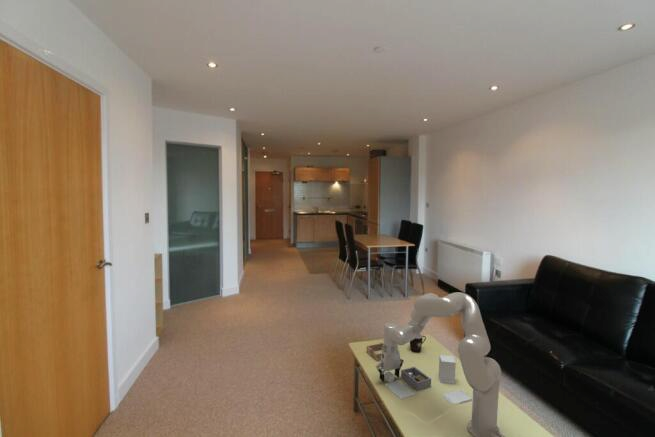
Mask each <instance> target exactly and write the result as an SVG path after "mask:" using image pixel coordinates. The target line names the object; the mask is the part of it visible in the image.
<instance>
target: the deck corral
mask: <svg viewBox="0 0 655 437" xmlns="http://www.w3.org/2000/svg"><path fill="white" fill-rule="evenodd" d="M382 347H383V342H379V343H376V344H375V343H374V344H371V345H367V346H366V354H368V355H369V356H370V357H371V358H373V360H375V361H376V362H381V354H382V352H381V353H377V352H378V351H381V350H382Z"/></svg>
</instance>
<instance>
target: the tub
mask: <svg viewBox="0 0 655 437" xmlns="http://www.w3.org/2000/svg"><path fill="white" fill-rule="evenodd" d="M408 371H411V372H413V378H412V377H411V376H410V375H408V374H407V372H408ZM418 375H420V376H422V377H424V378H425V379H426V380H422V381H419V382H417V381H416V380H415V379H414V377H416V376H418ZM400 378H401V379H402V380H403V381H404V382H406V383H407V384H408V385H409V386H410V387H411V388H413V389H415V391H417V392H420V391H422V390H425V389H428V388H431V387H432V379H431V377H429V376H428V375H426V374H425V373H424V372H422V371H421V370H420V369H418V368H417V367H416V366H411V367H408V368H404V369H400Z"/></svg>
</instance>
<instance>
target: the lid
mask: <svg viewBox="0 0 655 437" xmlns="http://www.w3.org/2000/svg"><path fill="white" fill-rule="evenodd" d="M384 381H386V382H387V383H385V384H384V386H386V387H387V388H388V389H389V390H390V391H391V392H392V393H393V394H394V395H395V396H397V397H398V398H399V399H400V400H403V399H406V398H409V397H412V396H414V395H415V396H416V393H415V392H413V390H411V389H410V388H409V387H407V386H406V385H405V384H404V383H403V382H401V381H400V380H399V379H398V380H397V379H396V380H395V374H393V373H392V371H391V370H390V371H385V372H384Z"/></svg>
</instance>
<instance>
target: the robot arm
mask: <svg viewBox="0 0 655 437" xmlns="http://www.w3.org/2000/svg"><path fill="white" fill-rule="evenodd" d="M413 307H414V308H413V309H412V310H411V312H410V317H411V320H410V321H409V322H408V323H407V324H406V325H405V326H403V327H401V328H399V326H398V325H397V323H393V322H386V323H385V324H384V325H383V342H382V343H383V347H382V351H381V353H382V354H381V353H380V354H381V361H379V363H378V364H376V366H375V369H376V370H377V372H378V373H379V380H381V381H382V382H383V383H384V382H385V372H389V371H390V372H391V371H393V370H394V376H395V377H397V378H400V372H401V370H402V369H401V368H402V366H403V364H404V359H402V358H401V354H400V349H399V348H398V347H399V346H404V345H406V344H408V343H410V341H411V340H413V339H415V338H416V337H417V336H418V335H419V334H421V333H422V332H423V330H424V329H425V327H426V324H427V323H428V322H429V321H430V320H431V318H451V317H453V316H456V315H457V314H459V313H460V316H461V318H460V319H461V326H462V330H463V333H464V337H463V338H462V339H461V340H460V341H459V343H458V346H457V353H458V356H459V360H460V364H461V368H462V372H463V375H464V377H465V380H466V382H467V384H468V386H469V387H470V388H471V389H472V401H471V402H472V403H471V405H472V407H471V420H468V422H467V423H466V424H467V426H466V427H467V431H468V432H469V433H470V435H471V436H472V437H505V436H504V435H503V434H502V433H501V432H500V427H499V426H498V411H499V410H498V409H499V397H500V396H499V394H500V393H499V392H500V384H501V379H502V369H501V366H500V364H499V363H498V362H497V361H496V359H493V358H491V357H488V356H487V355H488V354H489V352H490V351H491V343H490V339H489V336H488V334H487V330H486V327H485V323H484V321H483V318H482V314H481V310H480V307H479V305H478V303H477V301H476V300H475V299H474V298H473V297H472V296H471V295H469V294H467V293H464V292H458V291H457V292H452V293H449V294H448V295H447V294H446V295H445V296H443V297H439V296H438V294H436V293H433V292H428V293H426V294H423V295H420V296H418V297H417V298H416V299H415V300H414V304H413Z"/></svg>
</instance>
